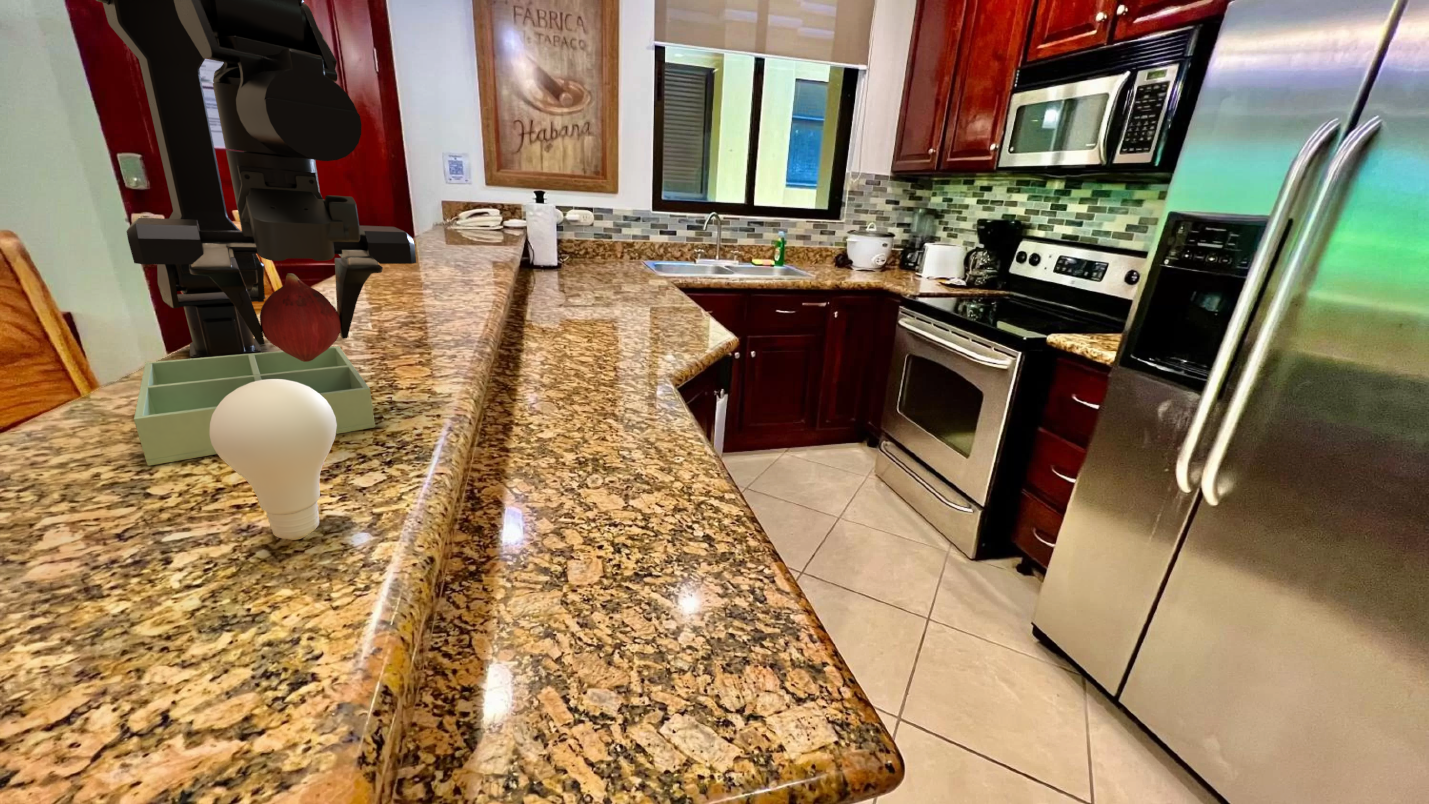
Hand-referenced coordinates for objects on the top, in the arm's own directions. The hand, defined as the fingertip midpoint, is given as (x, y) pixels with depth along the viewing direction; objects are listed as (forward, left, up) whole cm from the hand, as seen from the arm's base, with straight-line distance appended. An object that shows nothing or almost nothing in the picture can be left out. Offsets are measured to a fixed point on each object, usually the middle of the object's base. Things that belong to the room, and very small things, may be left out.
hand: (304, 340), depth 50 cm
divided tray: (-4, -4, -8) cm, 10 cm away
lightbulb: (+20, -4, -8) cm, 22 cm away
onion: (0, 0, -2) cm, 2 cm away
